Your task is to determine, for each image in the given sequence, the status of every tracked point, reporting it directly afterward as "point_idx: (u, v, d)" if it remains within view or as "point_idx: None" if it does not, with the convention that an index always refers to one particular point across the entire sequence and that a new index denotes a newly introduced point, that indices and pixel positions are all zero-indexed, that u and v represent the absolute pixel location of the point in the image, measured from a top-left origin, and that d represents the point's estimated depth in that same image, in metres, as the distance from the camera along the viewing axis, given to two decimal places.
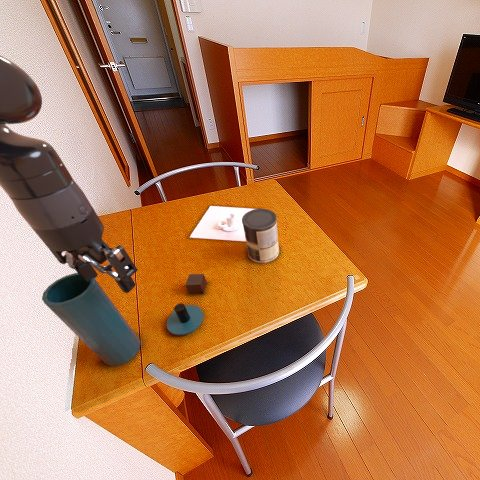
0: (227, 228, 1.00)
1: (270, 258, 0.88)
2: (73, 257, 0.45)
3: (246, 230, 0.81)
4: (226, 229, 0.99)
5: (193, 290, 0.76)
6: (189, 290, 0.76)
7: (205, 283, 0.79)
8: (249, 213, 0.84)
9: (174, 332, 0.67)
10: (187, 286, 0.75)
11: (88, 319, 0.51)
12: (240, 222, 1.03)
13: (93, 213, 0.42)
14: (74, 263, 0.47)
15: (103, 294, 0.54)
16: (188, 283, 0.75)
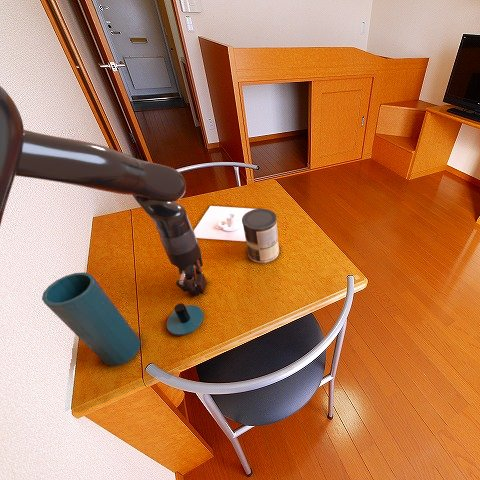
0: (227, 228, 1.00)
1: (270, 258, 0.88)
2: None
3: (246, 230, 0.81)
4: (226, 229, 0.99)
5: None
6: None
7: (205, 283, 0.79)
8: (249, 213, 0.84)
9: (174, 332, 0.67)
10: None
11: (88, 319, 0.51)
12: (240, 222, 1.03)
13: (187, 254, 0.66)
14: None
15: (103, 294, 0.54)
16: None
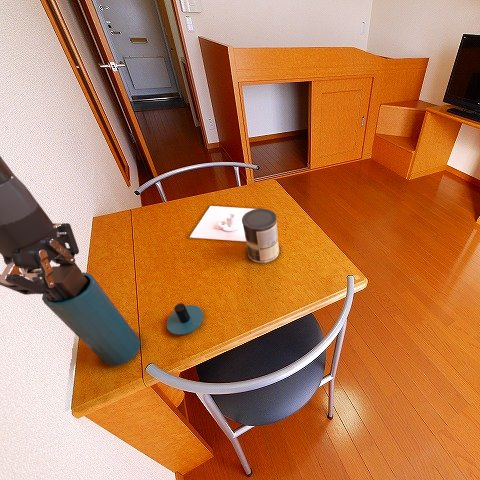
0: (227, 228, 1.00)
1: (270, 258, 0.88)
2: None
3: (246, 230, 0.81)
4: (226, 229, 0.99)
5: None
6: None
7: (82, 281, 0.50)
8: (249, 213, 0.84)
9: (174, 332, 0.67)
10: None
11: (88, 319, 0.51)
12: (240, 222, 1.03)
13: (7, 228, 0.37)
14: None
15: (103, 294, 0.54)
16: None
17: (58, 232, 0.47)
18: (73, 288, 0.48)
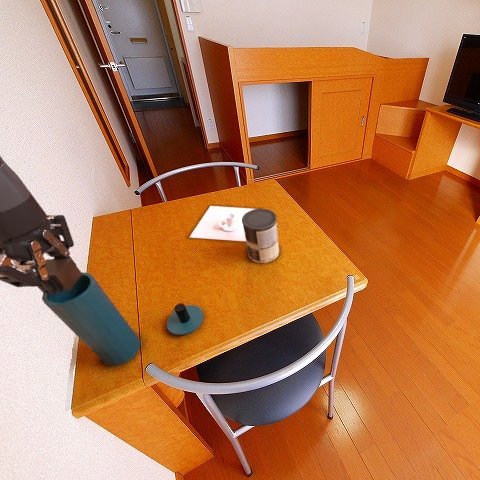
0: (227, 228, 1.00)
1: (270, 258, 0.88)
2: None
3: (246, 230, 0.81)
4: (226, 229, 0.99)
5: None
6: None
7: (76, 274, 0.49)
8: (249, 213, 0.84)
9: (174, 332, 0.67)
10: None
11: (88, 319, 0.51)
12: (240, 222, 1.03)
13: None
14: None
15: (103, 294, 0.54)
16: None
17: (52, 224, 0.46)
18: (67, 281, 0.47)
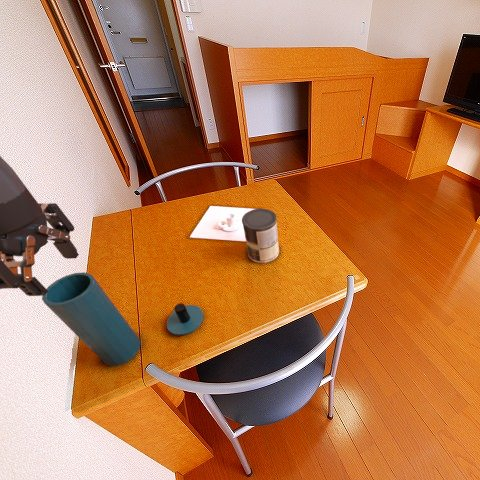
0: (227, 228, 1.00)
1: (270, 258, 0.88)
2: None
3: (246, 230, 0.81)
4: (226, 229, 0.99)
5: None
6: None
7: None
8: (249, 213, 0.84)
9: (174, 332, 0.67)
10: None
11: (88, 319, 0.51)
12: (240, 222, 1.03)
13: None
14: None
15: (103, 294, 0.54)
16: None
17: (47, 214, 0.45)
18: None
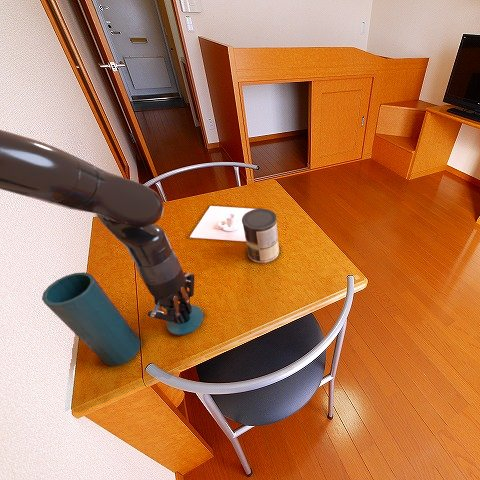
0: (227, 228, 1.00)
1: (270, 258, 0.88)
2: None
3: (246, 230, 0.81)
4: (226, 229, 0.99)
5: None
6: None
7: None
8: (249, 213, 0.84)
9: (174, 332, 0.67)
10: None
11: (88, 319, 0.51)
12: (240, 222, 1.03)
13: (161, 285, 0.56)
14: None
15: (103, 294, 0.54)
16: None
17: (186, 280, 0.67)
18: None
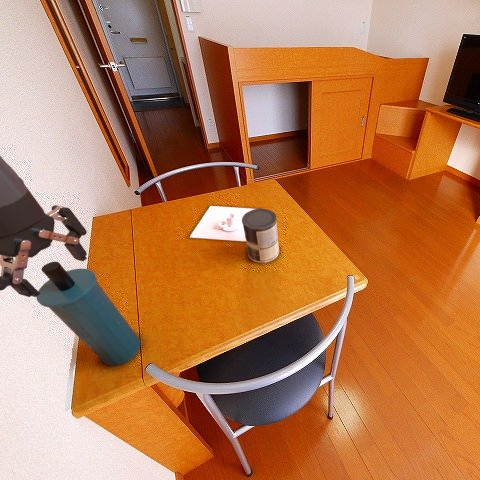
0: (227, 228, 1.00)
1: (270, 258, 0.88)
2: None
3: (246, 230, 0.81)
4: (226, 229, 0.99)
5: None
6: None
7: None
8: (249, 213, 0.84)
9: (43, 302, 0.47)
10: None
11: (88, 319, 0.51)
12: (240, 222, 1.03)
13: None
14: None
15: (103, 294, 0.54)
16: None
17: (58, 218, 0.46)
18: None
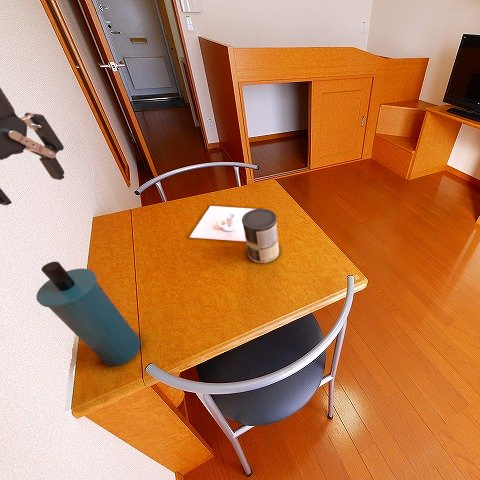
0: (227, 228, 1.00)
1: (270, 258, 0.88)
2: None
3: (246, 230, 0.81)
4: (226, 229, 0.99)
5: None
6: None
7: None
8: (249, 213, 0.84)
9: (43, 302, 0.47)
10: None
11: (88, 319, 0.51)
12: (240, 222, 1.03)
13: None
14: None
15: (103, 294, 0.54)
16: None
17: (31, 124, 0.43)
18: None
